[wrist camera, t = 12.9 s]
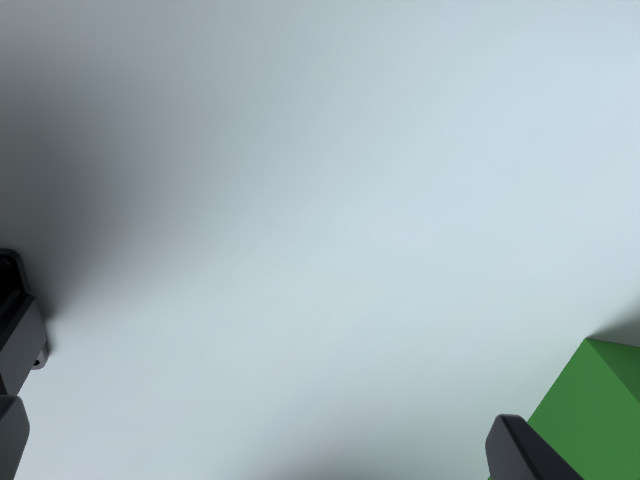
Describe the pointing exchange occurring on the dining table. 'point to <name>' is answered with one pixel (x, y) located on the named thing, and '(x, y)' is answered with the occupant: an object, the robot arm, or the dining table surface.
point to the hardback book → (595, 412)
